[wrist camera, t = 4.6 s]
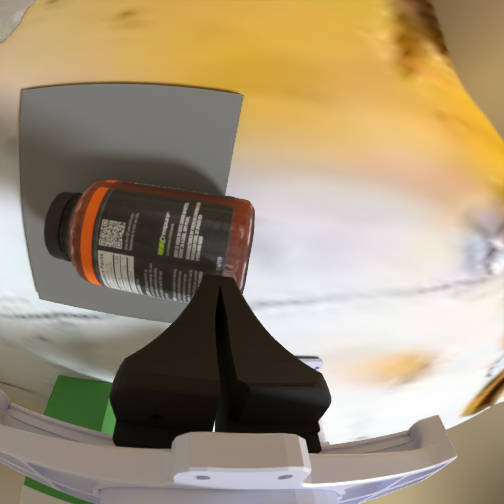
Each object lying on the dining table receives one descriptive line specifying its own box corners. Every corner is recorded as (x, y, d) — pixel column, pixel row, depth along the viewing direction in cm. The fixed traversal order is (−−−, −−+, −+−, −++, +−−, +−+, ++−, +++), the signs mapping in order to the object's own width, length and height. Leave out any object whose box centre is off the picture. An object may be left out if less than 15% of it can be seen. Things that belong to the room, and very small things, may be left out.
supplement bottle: (244, 239, 20) (90, 213, 19) (262, 178, 15) (67, 151, 14) (233, 325, 17) (60, 288, 16) (249, 285, 12) (17, 238, 11)
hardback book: (151, 446, 36) (144, 583, 15) (107, 441, 35) (92, 570, 14) (112, 383, 27) (82, 587, 6) (58, 375, 26) (13, 555, 6)
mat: (205, 322, 23) (205, 327, 23) (42, 294, 21) (39, 298, 20) (243, 95, 15) (243, 94, 15) (27, 89, 13) (22, 90, 12)
